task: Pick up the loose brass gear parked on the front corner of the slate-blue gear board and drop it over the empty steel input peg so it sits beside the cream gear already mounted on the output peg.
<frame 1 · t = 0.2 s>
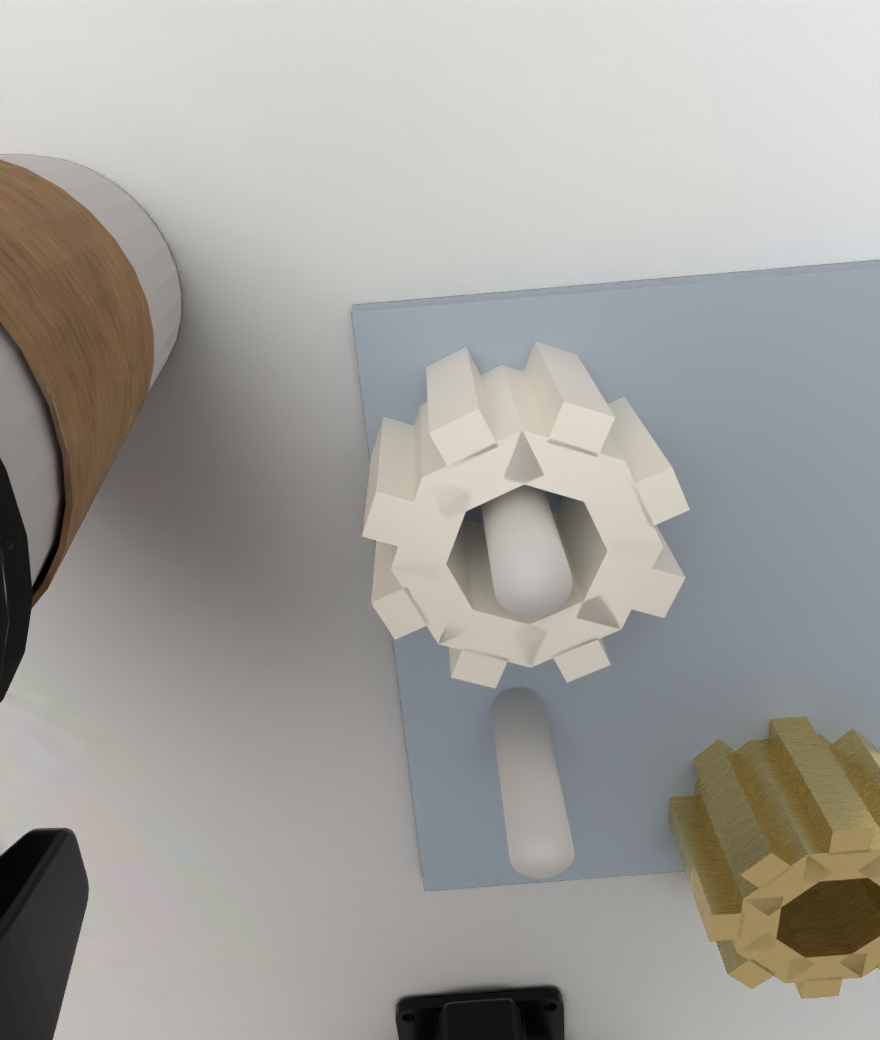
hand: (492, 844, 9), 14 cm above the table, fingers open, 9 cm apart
cream gear: (506, 473, 22), resting on gear board
coffee cup: (61, 285, 20), on the table
gear board: (645, 619, 25), on the table
brass gear: (776, 800, 28), point 1 cm above the table, touching gear board
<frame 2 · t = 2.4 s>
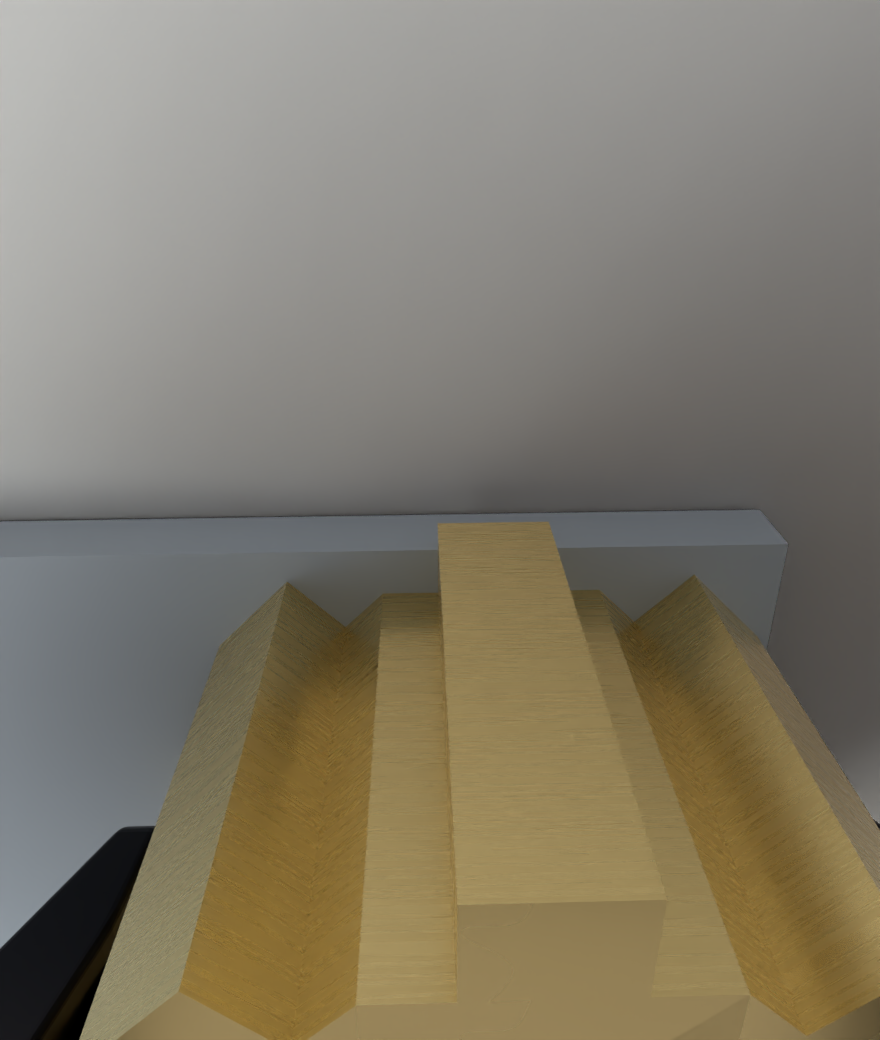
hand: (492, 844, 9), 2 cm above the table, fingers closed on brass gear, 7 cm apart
gear board: (1, 978, 12), on the table
brass gear: (486, 788, 10), point 1 cm above the table, touching gear board, gripper
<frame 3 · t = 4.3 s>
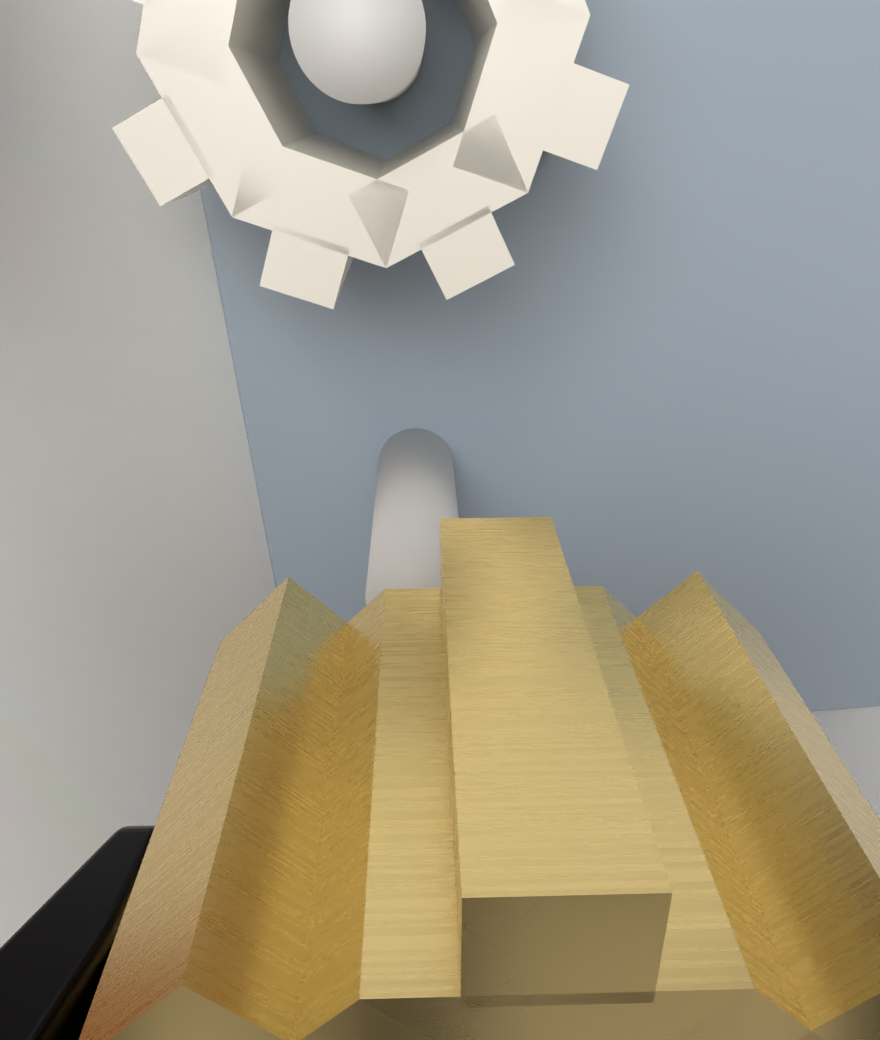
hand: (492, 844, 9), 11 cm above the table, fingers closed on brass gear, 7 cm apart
cream gear: (376, 51, 15), resting on gear board
gear board: (594, 333, 18), on the table
brass gear: (487, 784, 10), point 10 cm above the table, touching gripper
when the fingers open (3 cm above the table, at t = 6.4 s): brass gear drops 1 cm, resting on gear board.
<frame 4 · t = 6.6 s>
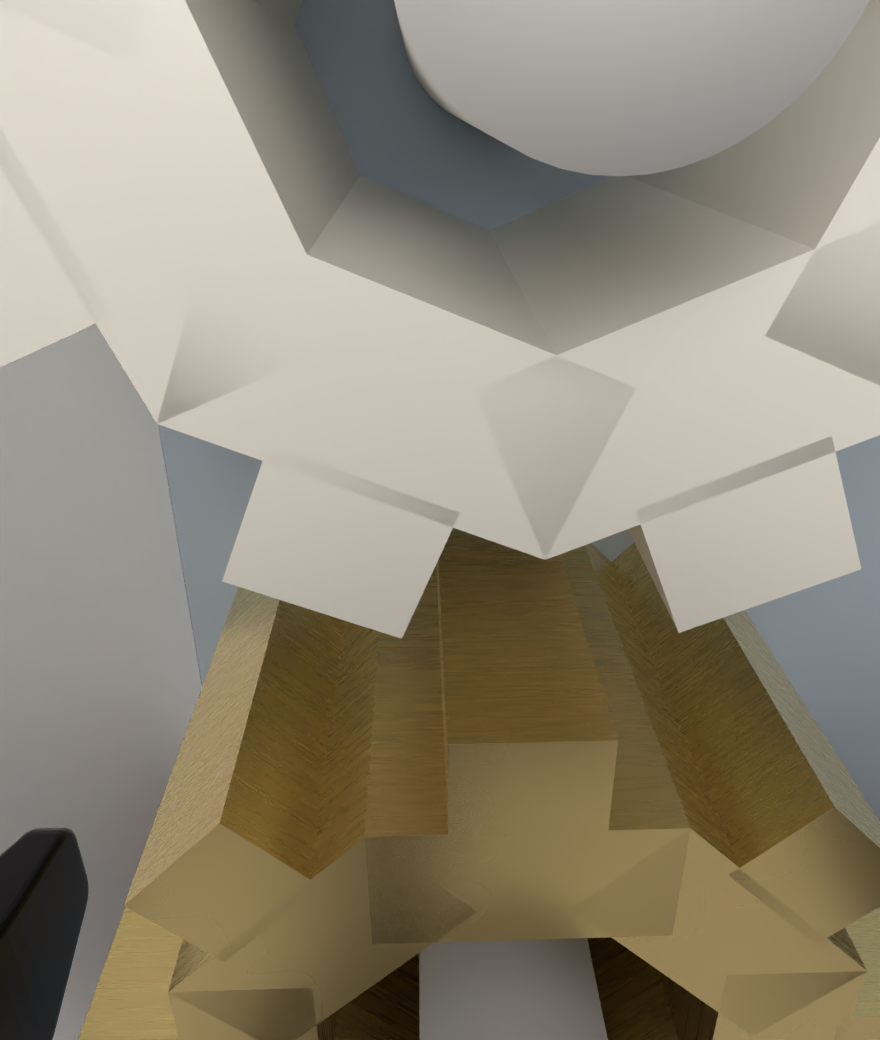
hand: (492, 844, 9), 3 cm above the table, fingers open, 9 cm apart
cream gear: (492, 24, 7), resting on gear board
gear board: (793, 529, 11), on the table
brass gear: (479, 718, 11), point 1 cm above the table, touching gear board
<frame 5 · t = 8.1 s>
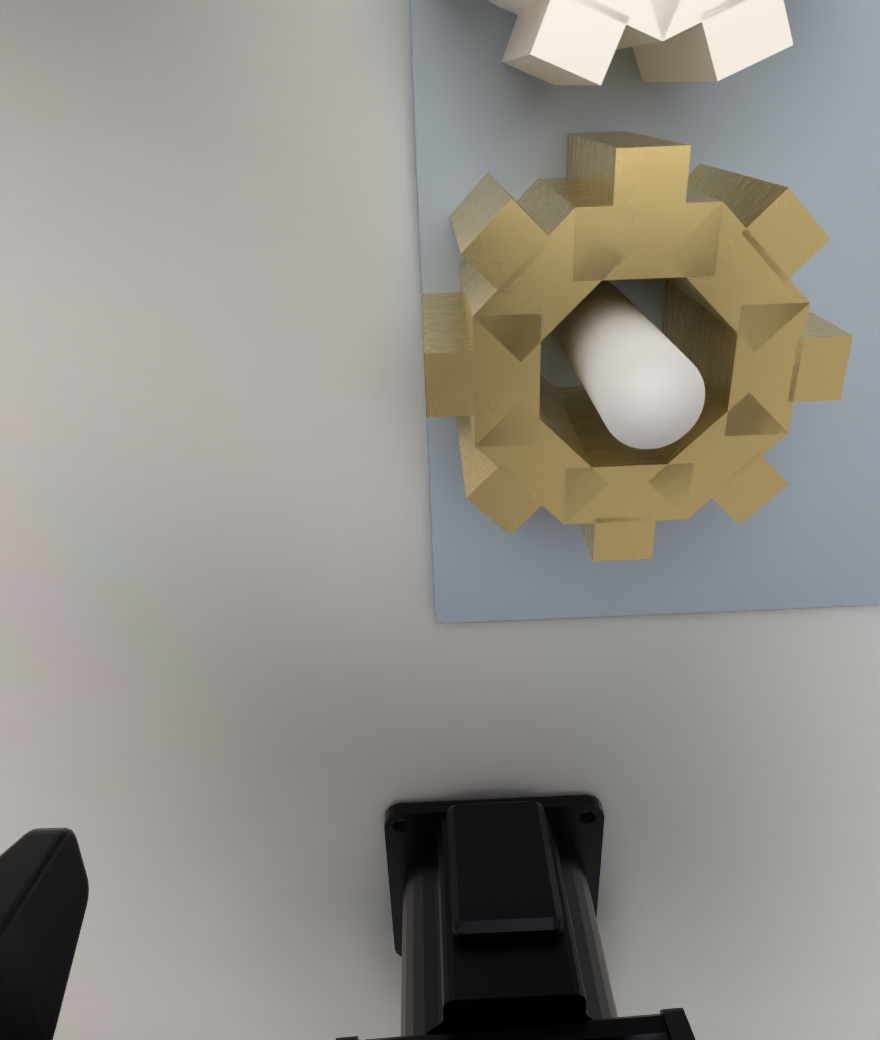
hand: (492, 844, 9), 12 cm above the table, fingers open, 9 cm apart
gear board: (777, 188, 18), on the table
brass gear: (587, 313, 18), point 1 cm above the table, touching gear board
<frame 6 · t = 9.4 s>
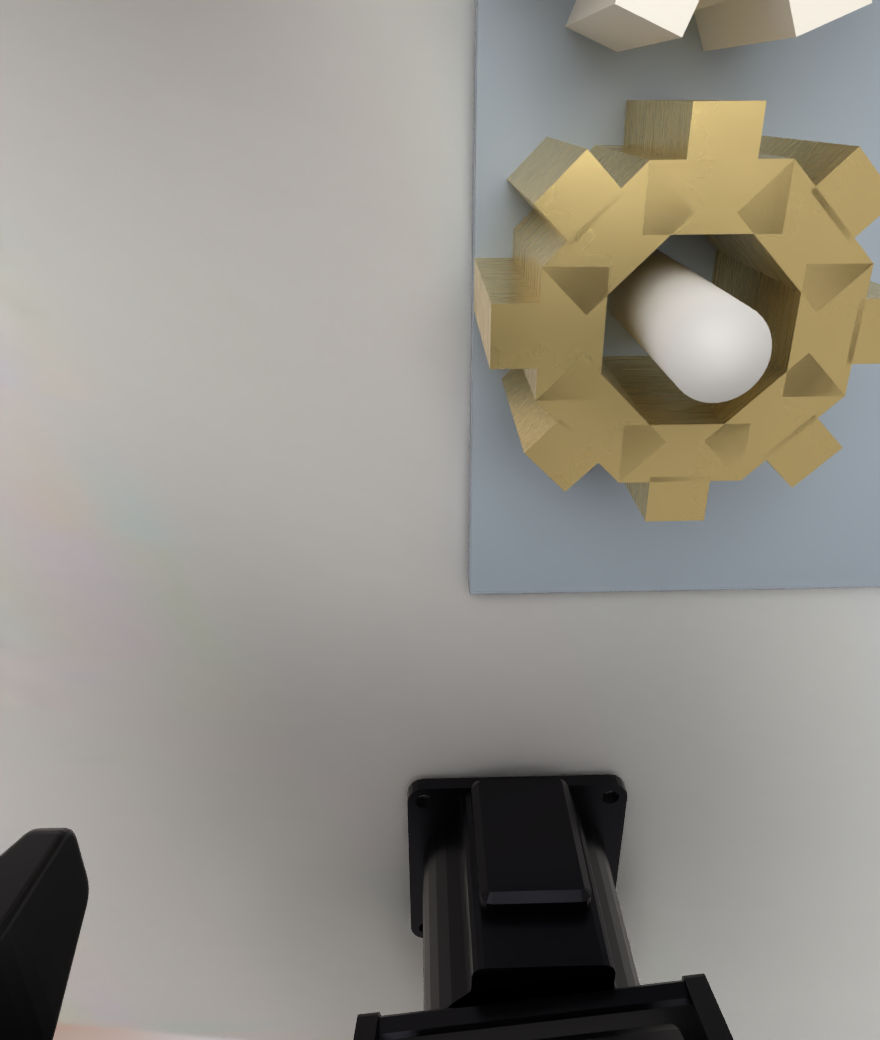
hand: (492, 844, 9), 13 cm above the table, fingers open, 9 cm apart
gear board: (827, 163, 18), on the table
brass gear: (637, 282, 18), point 1 cm above the table, touching gear board
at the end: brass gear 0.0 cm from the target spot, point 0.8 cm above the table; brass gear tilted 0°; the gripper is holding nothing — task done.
